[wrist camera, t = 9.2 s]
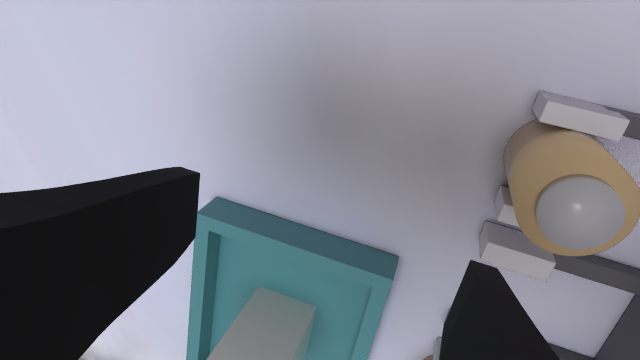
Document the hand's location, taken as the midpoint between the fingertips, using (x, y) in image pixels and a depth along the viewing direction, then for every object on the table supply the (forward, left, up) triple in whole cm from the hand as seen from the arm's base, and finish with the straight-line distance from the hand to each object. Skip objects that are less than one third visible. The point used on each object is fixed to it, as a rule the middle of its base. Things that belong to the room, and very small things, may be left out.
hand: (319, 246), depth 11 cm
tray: (+3, +13, -10) cm, 17 cm away
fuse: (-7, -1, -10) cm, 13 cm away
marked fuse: (+3, +13, -10) cm, 16 cm away
